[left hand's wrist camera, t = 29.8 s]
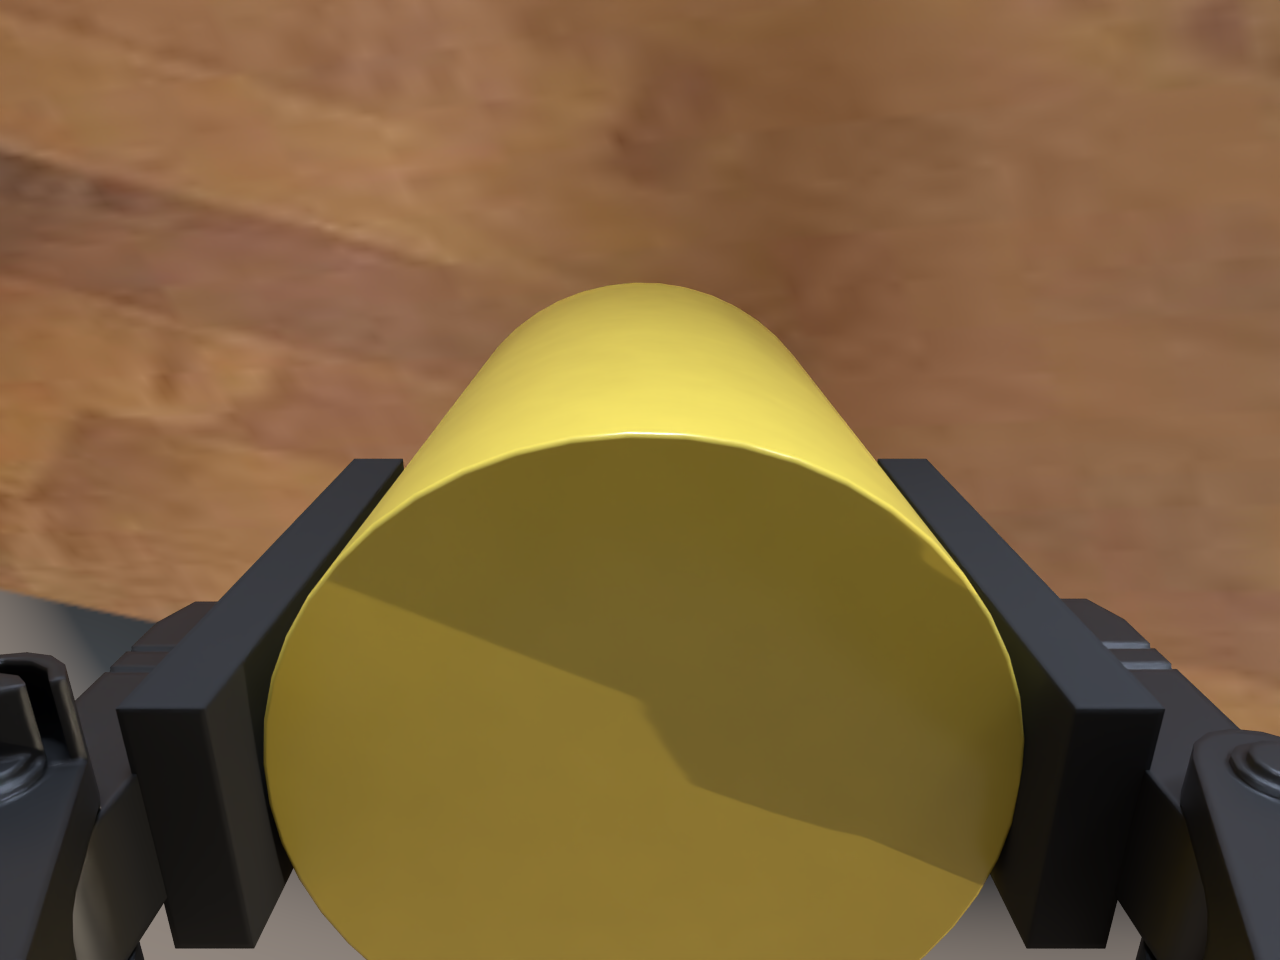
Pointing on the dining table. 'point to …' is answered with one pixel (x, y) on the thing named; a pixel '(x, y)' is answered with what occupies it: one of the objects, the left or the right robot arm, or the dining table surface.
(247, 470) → the dining table surface
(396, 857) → the tin
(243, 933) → the left robot arm
